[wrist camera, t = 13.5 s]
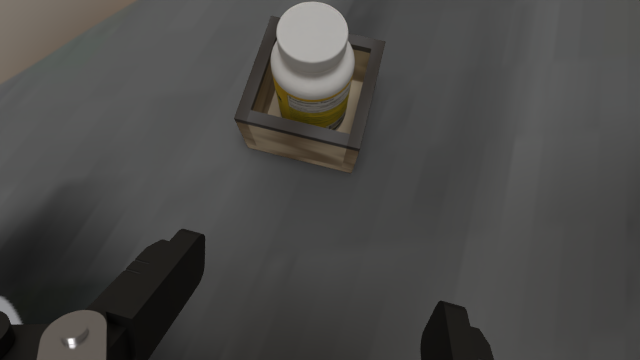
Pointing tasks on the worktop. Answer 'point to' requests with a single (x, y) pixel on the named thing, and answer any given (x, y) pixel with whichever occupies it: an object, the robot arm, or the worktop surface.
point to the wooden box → (300, 138)
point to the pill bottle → (313, 65)
